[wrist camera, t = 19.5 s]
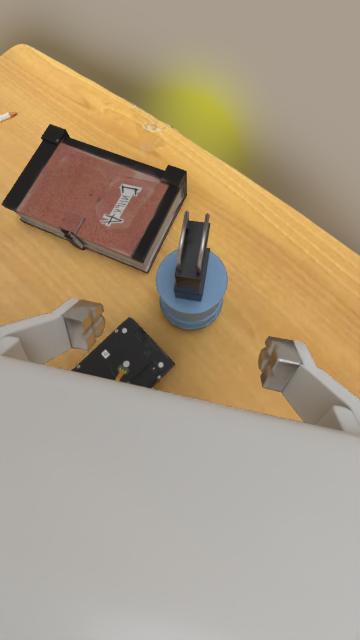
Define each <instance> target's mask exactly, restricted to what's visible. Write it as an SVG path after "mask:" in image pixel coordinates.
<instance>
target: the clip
mask: <svg viewBox="0 0 360 640" xmlns="http://www.w3.org/2000/svg"><path fill="white" fill-rule="evenodd" d="M209 229H210V223H209V214H208V213H207V214H206V216H205V222H196V221H189V212H188V211H186V212H185V215H184V221H183V226H182V231H181V236H180V242H179V247H178V252H177V258H176V259H177V266H176V271H175V286H174V294H175V298H181V299H187V300H194V301H200V302H201V301H202V297H203V291H204V285H205V278H206V272H207V266H208V260H209V253H210V248H207V242H208V235H209Z"/></svg>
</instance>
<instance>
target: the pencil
mask: <svg viewBox="0 0 360 640" xmlns="http://www.w3.org/2000/svg"><path fill="white" fill-rule="evenodd" d="M15 114H17V112H9V113H6V114H4V115H1V116H0V122H2V121H4V120H7V119H9V118H12V117H13V116H14V115H15Z"/></svg>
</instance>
